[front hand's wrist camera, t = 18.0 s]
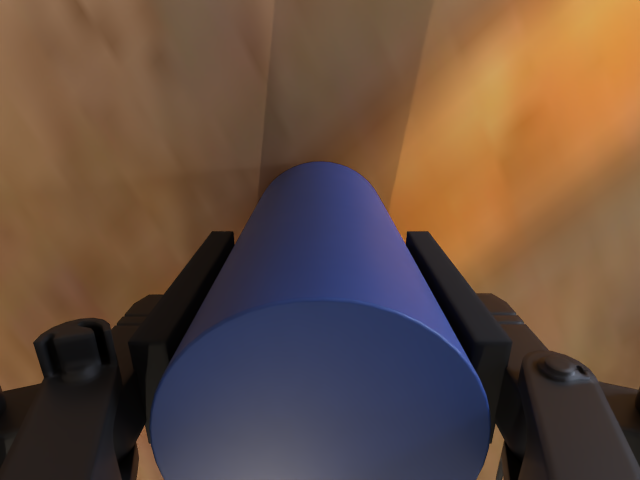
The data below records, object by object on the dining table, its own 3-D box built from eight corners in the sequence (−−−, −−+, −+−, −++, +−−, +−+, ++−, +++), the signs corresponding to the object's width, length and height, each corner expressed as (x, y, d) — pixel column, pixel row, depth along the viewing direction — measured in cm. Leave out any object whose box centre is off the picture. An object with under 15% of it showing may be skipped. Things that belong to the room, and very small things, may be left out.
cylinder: (233, 190, 18) (78, 370, 6) (359, 140, 17) (439, 242, 6) (286, 300, 20) (241, 584, 8) (401, 259, 19) (524, 513, 8)
